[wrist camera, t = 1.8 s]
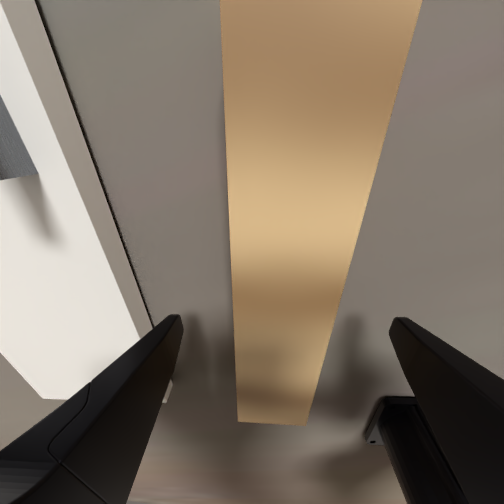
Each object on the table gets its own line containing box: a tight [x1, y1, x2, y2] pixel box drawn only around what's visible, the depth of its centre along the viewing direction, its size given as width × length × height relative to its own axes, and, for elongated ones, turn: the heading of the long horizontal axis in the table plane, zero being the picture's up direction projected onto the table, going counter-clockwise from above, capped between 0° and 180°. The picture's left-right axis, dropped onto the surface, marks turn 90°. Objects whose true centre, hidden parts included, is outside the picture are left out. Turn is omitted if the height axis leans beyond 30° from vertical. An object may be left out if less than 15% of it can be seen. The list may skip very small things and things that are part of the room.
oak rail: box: [220, 0, 422, 426], centre depth 10 cm, size 18×4×3 cm, turn 179°
